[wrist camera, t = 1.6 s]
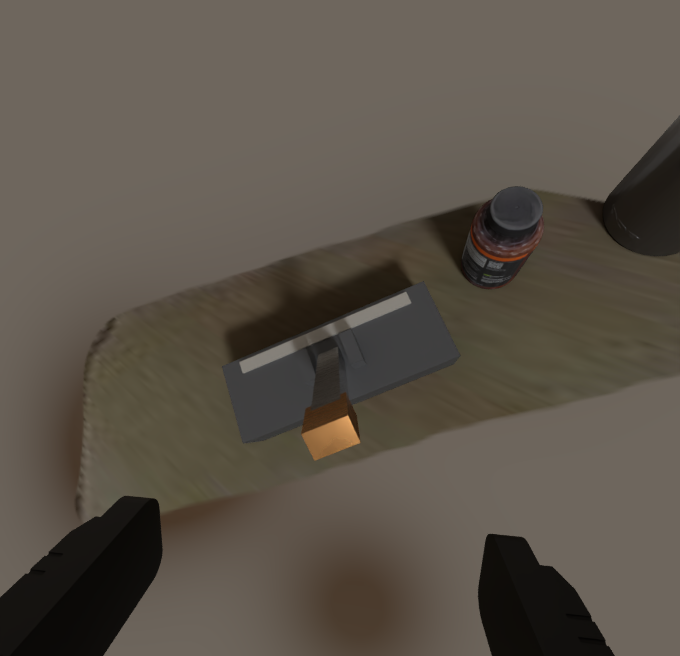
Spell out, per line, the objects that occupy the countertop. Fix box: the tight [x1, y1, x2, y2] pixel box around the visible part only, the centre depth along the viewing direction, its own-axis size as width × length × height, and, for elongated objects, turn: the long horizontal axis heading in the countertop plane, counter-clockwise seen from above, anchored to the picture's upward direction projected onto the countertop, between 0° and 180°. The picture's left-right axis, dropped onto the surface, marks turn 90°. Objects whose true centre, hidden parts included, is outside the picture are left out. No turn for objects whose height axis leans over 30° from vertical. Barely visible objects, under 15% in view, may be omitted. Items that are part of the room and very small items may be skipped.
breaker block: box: [222, 281, 460, 443], centre depth 36 cm, size 22×8×8 cm, turn 111°
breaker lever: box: [301, 347, 360, 460], centre depth 27 cm, size 3×2×15 cm, turn 111°
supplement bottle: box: [461, 186, 544, 289], centre depth 34 cm, size 6×6×11 cm
